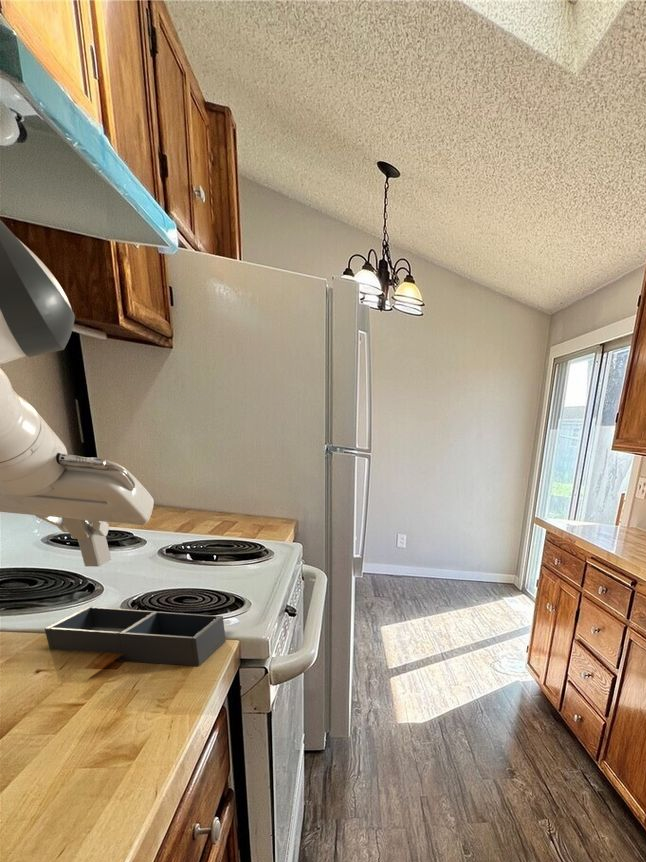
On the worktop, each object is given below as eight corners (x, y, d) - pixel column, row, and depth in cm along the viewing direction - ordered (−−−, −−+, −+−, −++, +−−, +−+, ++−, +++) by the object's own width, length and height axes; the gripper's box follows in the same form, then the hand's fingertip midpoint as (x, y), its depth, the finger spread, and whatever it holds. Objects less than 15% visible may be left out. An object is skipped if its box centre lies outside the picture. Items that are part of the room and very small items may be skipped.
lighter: (96, 559, 74) (81, 497, 71) (111, 559, 75) (96, 497, 72) (74, 572, 68) (56, 504, 65) (90, 572, 69) (73, 505, 65)
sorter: (51, 657, 74) (43, 628, 73) (94, 632, 83) (88, 606, 81) (199, 666, 77) (195, 638, 75) (225, 641, 85) (223, 616, 84)
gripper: (126, 438, 60) (180, 517, 73) (-87, 414, 57) (8, 500, 70) (111, 486, 58) (168, 558, 71) (-111, 463, 55) (-9, 543, 68)
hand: (87, 529), depth 70 cm, fingers closed on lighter, 2 cm apart
